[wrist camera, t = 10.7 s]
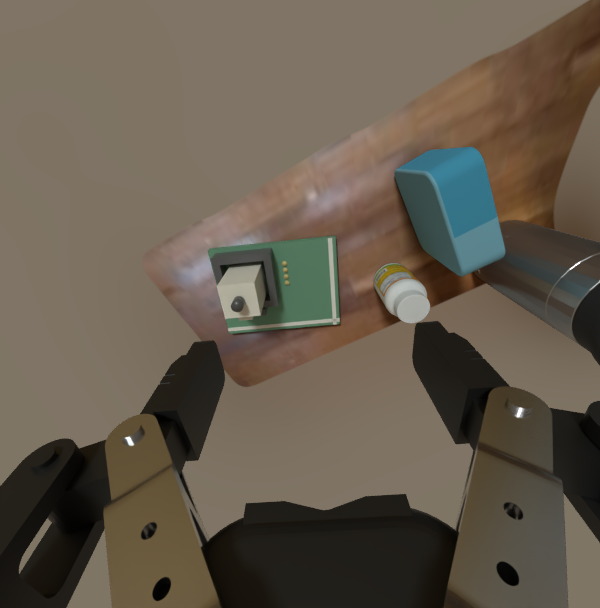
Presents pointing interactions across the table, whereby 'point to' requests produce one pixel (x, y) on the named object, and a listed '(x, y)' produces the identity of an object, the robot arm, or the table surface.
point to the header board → (296, 285)
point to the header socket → (252, 255)
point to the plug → (243, 290)
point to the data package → (452, 208)
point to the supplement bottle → (401, 293)
